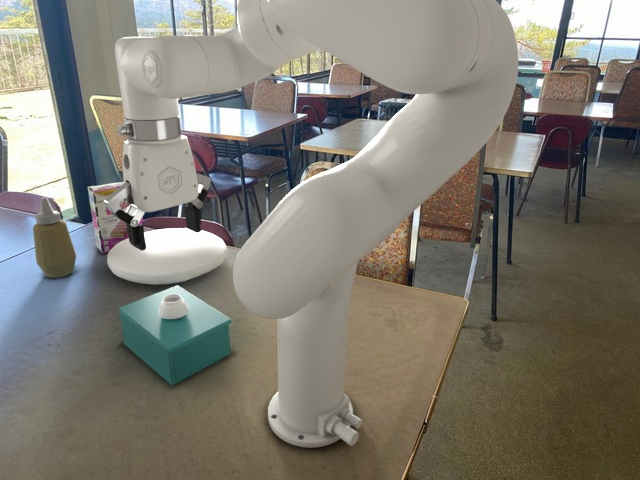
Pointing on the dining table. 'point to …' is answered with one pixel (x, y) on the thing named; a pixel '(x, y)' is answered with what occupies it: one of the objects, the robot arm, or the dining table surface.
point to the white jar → (173, 307)
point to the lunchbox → (176, 352)
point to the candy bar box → (107, 217)
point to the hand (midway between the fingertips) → (167, 238)
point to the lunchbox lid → (174, 330)
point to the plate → (167, 256)
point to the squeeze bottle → (53, 243)
